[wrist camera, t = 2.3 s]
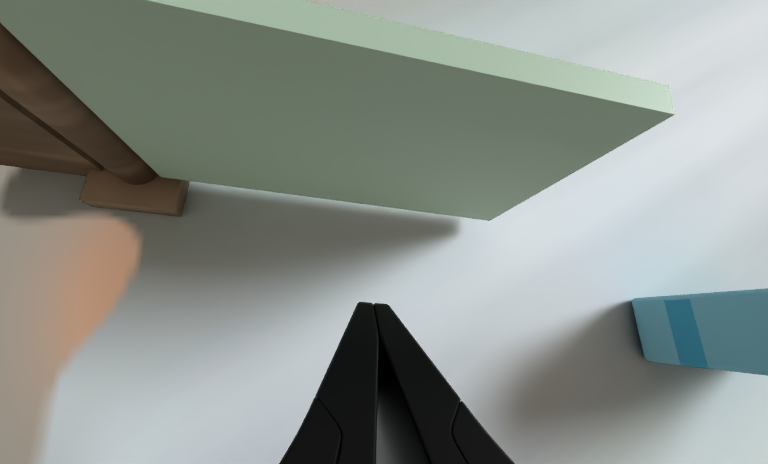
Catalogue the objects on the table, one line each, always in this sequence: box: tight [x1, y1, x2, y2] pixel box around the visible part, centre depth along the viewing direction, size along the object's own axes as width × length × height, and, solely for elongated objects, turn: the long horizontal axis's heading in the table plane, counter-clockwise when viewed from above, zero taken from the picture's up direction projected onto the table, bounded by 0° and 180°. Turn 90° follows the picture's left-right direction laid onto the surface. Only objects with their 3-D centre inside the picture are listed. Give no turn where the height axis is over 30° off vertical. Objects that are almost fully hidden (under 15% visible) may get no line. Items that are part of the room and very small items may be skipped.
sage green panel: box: [0, 0, 675, 221], centre depth 16 cm, size 3×22×13 cm, turn 87°
